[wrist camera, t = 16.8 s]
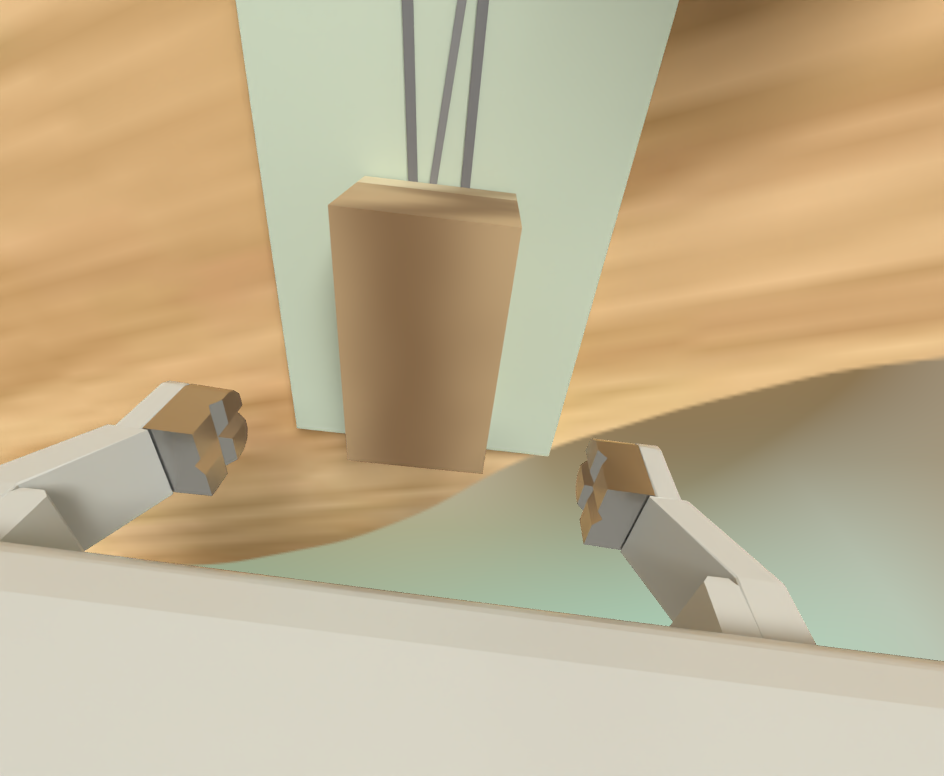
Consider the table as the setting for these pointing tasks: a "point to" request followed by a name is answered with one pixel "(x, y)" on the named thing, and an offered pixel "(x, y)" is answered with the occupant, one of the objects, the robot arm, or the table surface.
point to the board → (452, 159)
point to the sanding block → (421, 317)
